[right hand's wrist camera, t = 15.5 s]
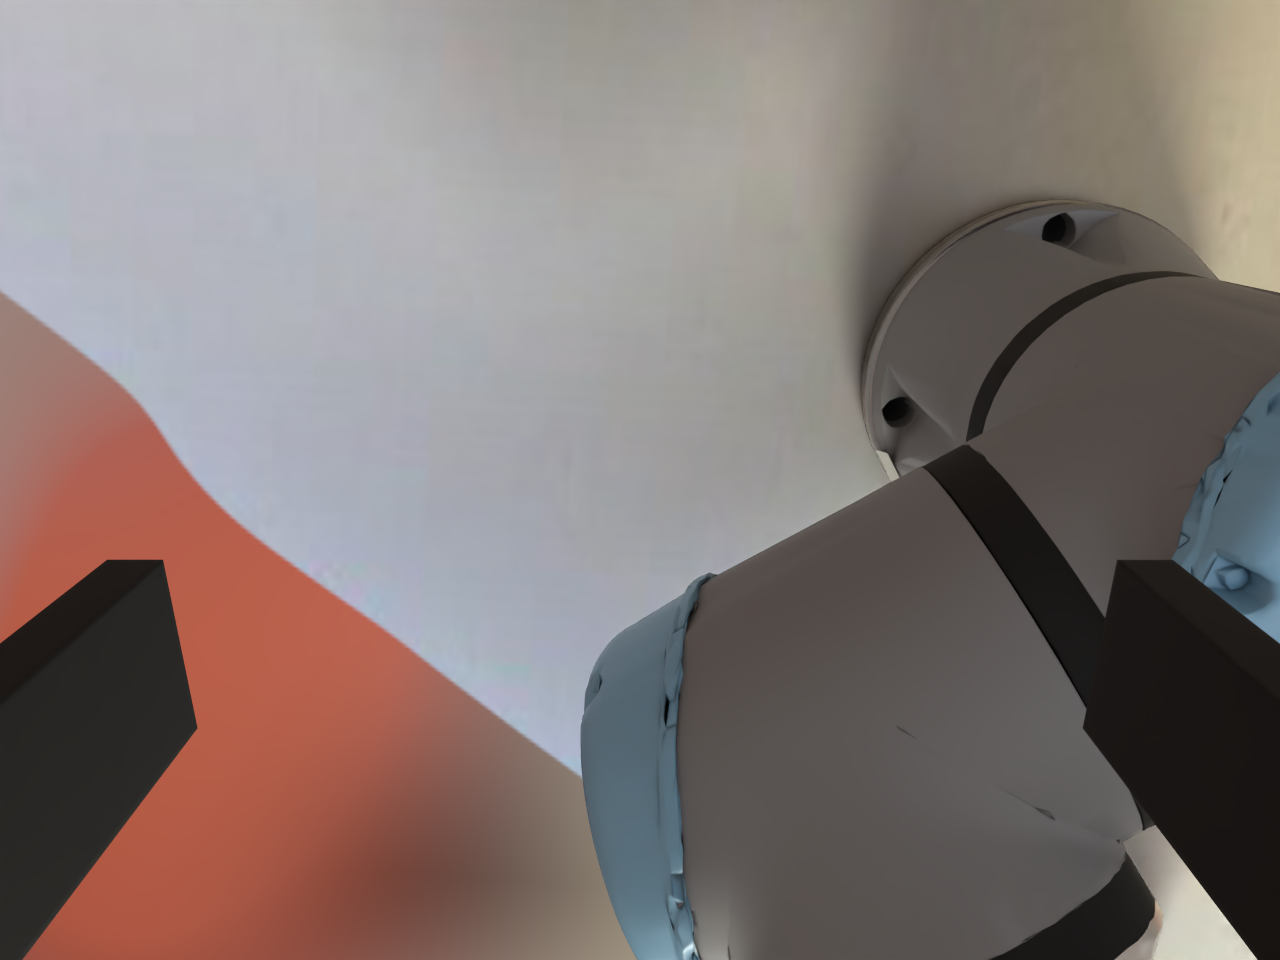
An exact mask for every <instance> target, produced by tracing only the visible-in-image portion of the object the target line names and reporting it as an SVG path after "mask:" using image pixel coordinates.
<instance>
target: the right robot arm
mask: <svg viewBox="0 0 1280 960" xmlns="http://www.w3.org/2000/svg"><path fill="white" fill-rule="evenodd" d="M862 408H863V416H864V421H865V425H866V430H867V433H868V436H869V439H870V442H871V445H872V447H873V450H874V452H875V454H876V456H877V458H878V460H879V462H880V463H881V465H882V467H883V468H884V470H885V472H886V473H887V474H888V476H889V478H890V480H891V483H889V484H887V485H885V486H883V487H882V488H880V489H878V490H876V491H874V492H873V493H871V494H869V495H867V496H865V497H864V498H862V499H860V500H858V501H856V502H854V503H853V504H851V505H849V506H847V507H845V508H843V509H841V510H839V511H837V512H836V513H834V514H832V515H830V516H828V517H826V518H824V519H822V520H821V521H819V522H817V523H815V524H813V525H811V526H809V527H807V528H805V529H804V530H802V531H800V532H798V533H796V534H794V535H792V536H790V537H789V538H787V539H785V540H783V541H781V542H779V543H777V544H775V545H773V546H772V547H770V548H768V549H766V550H764V551H762V552H760V553H758V554H757V555H755V556H753V557H751V558H749V559H747V560H745V561H743V562H741V563H740V564H738V565H736V566H734V567H732V568H730V569H728V570H726V571H724V572H723V573H721V574H719V575H715V574H712V573H708V574H706V575H703V576H701V577H699V578H697V579H696V580H694V581H693V582H692V583H691V584H690V585H689V586H688V588H687V590H686V592H685V593H684V594H683V595H681V596H679V597H678V598H676V599H674V600H673V601H671V602H670V603H668V604H666V605H665V606H663V607H661V608H660V609H658V610H656V611H655V612H653V613H652V614H650V615H648V616H647V617H645V618H643V619H642V620H640V621H638V622H637V623H635V624H633V625H632V626H630V627H628V628H627V629H625V630H623V631H622V632H621V633H620V634H618V635H617V636H616V637H615V638H614V639H613V640H612V641H611V642H610V643H609V644H608V645H607V647H606V648H605V649H604V651H603V652H602V653H601V655H600V656H599V658H598V660H597V662H596V663H595V666H594V668H593V670H592V673H591V675H590V679H589V683H588V687H587V689H586V693H585V707H584V715H583V718H582V723H581V765H582V777H583V786H584V794H585V801H586V806H587V813H588V818H589V824H590V828H591V833H592V838H593V842H594V846H595V850H596V853H597V857H598V861H599V865H600V869H601V872H602V875H603V878H604V882H605V885H606V888H607V891H608V894H609V897H610V900H611V903H612V906H613V908H614V911H615V914H616V916H617V919H618V921H619V924H620V926H621V928H622V931H623V933H624V935H625V937H626V939H627V941H628V943H629V945H630V947H631V949H632V951H633V953H634V955H635V957H636V958H637V960H1153V958H1154V955H1155V951H1156V947H1157V944H1158V940H1159V937H1160V933H1161V929H1162V922H1163V915H1162V912H1161V910H1160V908H1159V906H1158V904H1157V902H1156V900H1155V898H1154V896H1153V895H1152V894H1151V892H1150V890H1149V889H1148V887H1147V885H1146V884H1145V882H1144V880H1143V879H1142V877H1141V875H1140V874H1139V872H1138V870H1137V869H1136V867H1135V865H1134V864H1133V862H1132V860H1131V859H1130V857H1129V855H1128V854H1127V852H1126V850H1125V848H1124V844H1123V841H1125V840H1127V839H1129V838H1130V837H1132V836H1134V835H1136V834H1137V833H1139V832H1141V831H1142V830H1146V829H1147V828H1149V827H1151V826H1154V825H1156V826H1157V827H1158V829H1159V830H1160V831H1161V833H1162V834H1163V835H1164V837H1165V838H1166V839H1167V840H1168V842H1169V843H1170V844H1171V846H1172V847H1173V848H1174V850H1175V851H1176V852H1177V854H1178V855H1179V856H1180V858H1181V859H1182V860H1183V862H1184V863H1185V864H1186V866H1187V867H1188V868H1189V870H1190V871H1191V872H1192V874H1193V875H1194V876H1195V878H1196V879H1197V880H1198V881H1199V883H1200V884H1201V885H1202V887H1203V888H1204V889H1205V891H1206V892H1207V893H1208V895H1209V896H1210V897H1211V899H1212V900H1213V901H1214V903H1215V904H1216V905H1217V907H1218V908H1219V909H1220V911H1221V912H1222V913H1223V915H1224V916H1225V917H1226V919H1227V920H1228V921H1229V922H1230V924H1231V925H1232V926H1233V928H1234V929H1235V930H1236V932H1237V933H1238V934H1239V936H1240V937H1241V938H1242V940H1243V941H1244V942H1245V944H1246V945H1247V946H1248V948H1249V949H1250V950H1251V952H1252V953H1253V954H1254V956H1255V957H1256V958H1257V960H1280V293H1278V292H1273V291H1268V290H1263V289H1258V288H1254V287H1249V286H1244V285H1239V284H1234V283H1230V282H1225V281H1220V280H1219V279H1218V278H1217V277H1216V276H1215V275H1214V273H1213V272H1212V271H1211V270H1210V269H1209V268H1208V267H1207V266H1206V264H1205V263H1204V262H1203V261H1202V260H1201V259H1200V258H1199V257H1198V255H1197V254H1196V253H1195V252H1194V251H1193V250H1192V249H1191V248H1190V247H1189V246H1188V245H1187V244H1185V243H1184V242H1183V241H1182V240H1181V239H1179V238H1178V237H1177V236H1176V235H1174V234H1173V233H1172V232H1171V231H1169V230H1168V229H1166V228H1165V227H1163V226H1161V225H1160V224H1158V223H1157V222H1155V221H1153V220H1151V219H1149V218H1147V217H1145V216H1143V215H1141V214H1138V213H1135V212H1132V211H1129V210H1126V209H1124V208H1119V207H1115V206H1111V205H1106V204H1099V203H1091V202H1083V201H1074V200H1045V201H1034V202H1029V203H1024V204H1019V205H1014V206H1011V207H1008V208H1004V209H1001V210H998V211H995V212H993V213H990V214H988V215H985V216H983V217H980V218H978V219H976V220H974V221H972V222H970V223H968V224H967V225H965V226H963V227H961V228H960V229H958V230H957V231H955V232H953V233H952V234H950V235H949V236H947V237H946V238H945V239H943V240H942V241H941V242H939V243H938V244H937V245H935V246H934V247H933V248H932V249H931V250H929V251H928V252H927V253H926V254H925V255H924V256H923V257H922V258H921V259H920V260H919V261H918V262H917V263H916V264H915V265H914V266H913V267H912V268H911V269H910V270H909V272H908V273H907V274H906V275H905V276H904V278H903V279H902V280H901V282H900V283H899V284H898V285H897V287H896V288H895V290H894V291H893V293H892V294H891V296H890V298H889V299H888V301H887V302H886V304H885V306H884V308H883V310H882V312H881V314H880V316H879V318H878V320H877V322H876V325H875V327H874V330H873V332H872V334H871V338H870V341H869V344H868V348H867V351H866V356H865V361H864V366H863V375H862ZM196 729H197V724H196V719H195V714H194V709H193V704H192V699H191V695H190V690H189V685H188V680H187V675H186V670H185V665H184V660H183V655H182V651H181V646H180V641H179V636H178V631H177V626H176V621H175V616H174V612H173V607H172V602H171V597H170V592H169V587H168V582H167V577H166V573H165V568H164V563H163V560H106V561H105V562H104V563H103V564H101V565H100V566H99V567H97V568H96V569H95V570H94V571H92V572H91V573H90V574H88V575H87V576H86V577H85V578H83V579H82V580H81V581H80V582H78V583H77V584H76V585H74V586H73V587H72V588H71V589H69V590H68V591H67V592H65V593H64V594H63V595H62V596H60V597H59V598H58V599H57V600H55V601H54V602H53V603H51V604H50V605H49V606H48V607H46V608H45V609H44V610H42V611H41V612H40V613H39V614H37V615H36V616H35V617H34V618H32V619H31V620H30V621H28V622H27V623H26V624H25V625H23V626H22V627H21V628H20V629H18V630H17V631H16V632H14V633H13V634H12V635H11V636H9V637H8V638H7V639H5V640H4V641H3V642H2V643H0V960H22V959H23V958H24V957H25V955H26V954H27V953H28V952H29V950H30V949H31V948H32V946H33V945H34V944H35V942H36V941H37V940H38V938H39V937H40V936H41V934H42V933H43V932H44V930H45V929H46V928H47V926H48V925H49V924H50V922H51V921H52V920H53V919H54V917H55V916H56V914H57V913H58V912H59V911H60V909H61V908H62V907H63V905H64V904H65V903H66V901H67V900H68V899H69V897H70V896H71V895H72V893H73V892H74V891H75V889H76V888H77V887H78V885H79V884H80V883H81V881H82V880H83V879H84V878H85V876H86V875H87V873H88V872H89V871H90V870H91V868H92V867H93V866H94V864H95V863H96V862H97V860H98V859H99V858H100V856H101V855H102V854H103V852H104V851H105V850H106V848H107V847H108V846H109V844H110V843H111V842H112V840H113V839H114V838H115V836H116V835H117V834H118V832H119V831H120V830H121V829H122V827H123V826H124V825H125V823H126V822H127V821H128V819H129V818H130V817H131V815H132V814H133V813H134V811H135V810H136V809H137V807H138V806H139V805H140V803H141V802H142V801H143V799H144V798H145V797H146V796H147V794H148V793H149V792H150V790H151V789H152V787H153V786H154V785H155V784H156V782H157V781H158V780H159V778H160V777H161V776H162V774H163V773H164V772H165V770H166V769H167V768H168V766H169V765H170V764H171V762H172V761H173V760H174V758H175V757H176V756H177V754H178V753H179V752H180V750H181V749H182V748H183V746H184V745H185V744H186V743H187V741H188V740H189V739H190V737H191V736H192V735H193V733H194V732H195V731H196Z"/></svg>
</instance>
